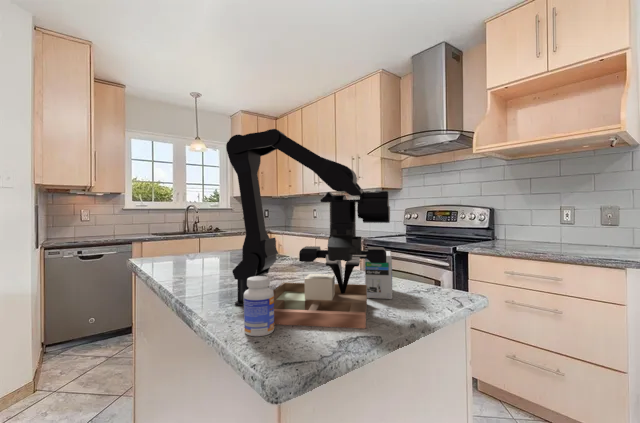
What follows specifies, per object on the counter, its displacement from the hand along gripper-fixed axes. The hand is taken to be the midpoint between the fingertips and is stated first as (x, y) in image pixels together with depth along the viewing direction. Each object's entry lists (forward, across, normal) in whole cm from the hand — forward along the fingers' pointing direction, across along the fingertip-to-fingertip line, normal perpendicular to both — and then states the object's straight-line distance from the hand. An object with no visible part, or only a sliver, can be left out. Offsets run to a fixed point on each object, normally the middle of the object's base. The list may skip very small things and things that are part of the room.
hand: (343, 293), depth 74 cm
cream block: (+1, -5, 0) cm, 5 cm away
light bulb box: (+4, +8, +14) cm, 17 cm away
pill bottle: (+4, -14, -16) cm, 21 cm away
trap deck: (+3, -5, -4) cm, 7 cm away
